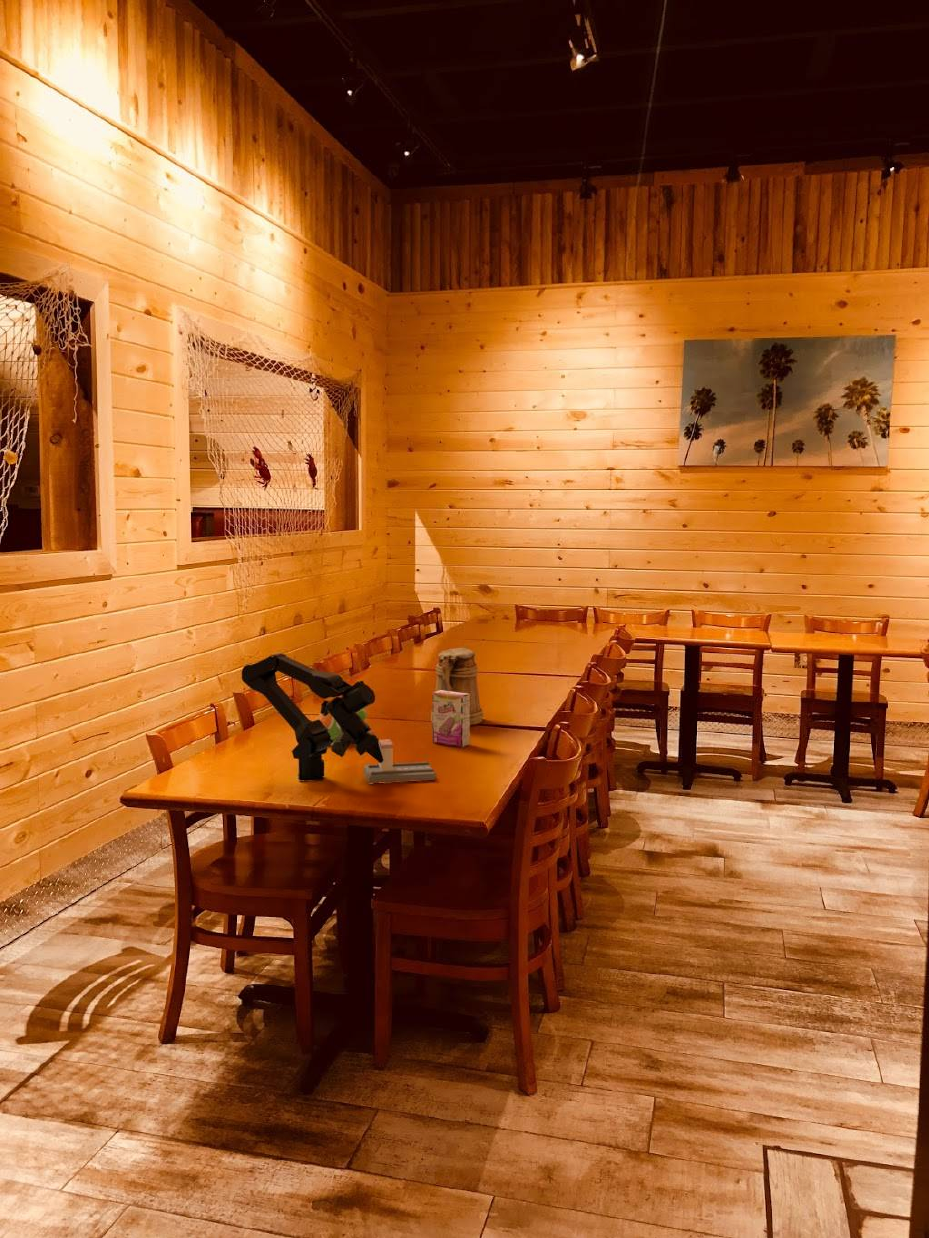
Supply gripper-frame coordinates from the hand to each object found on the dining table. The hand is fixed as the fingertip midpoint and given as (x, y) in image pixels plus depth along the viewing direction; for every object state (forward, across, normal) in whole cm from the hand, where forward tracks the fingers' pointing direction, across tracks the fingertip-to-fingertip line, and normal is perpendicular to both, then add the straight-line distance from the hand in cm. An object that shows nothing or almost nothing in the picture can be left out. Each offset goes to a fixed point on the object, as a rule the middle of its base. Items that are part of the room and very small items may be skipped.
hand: (381, 761), depth 264 cm
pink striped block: (+3, -4, -1) cm, 5 cm away
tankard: (+24, -65, +26) cm, 74 cm away
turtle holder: (0, -49, -7) cm, 50 cm away
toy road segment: (+7, -4, +1) cm, 8 cm away
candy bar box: (+20, -36, +19) cm, 46 cm away
